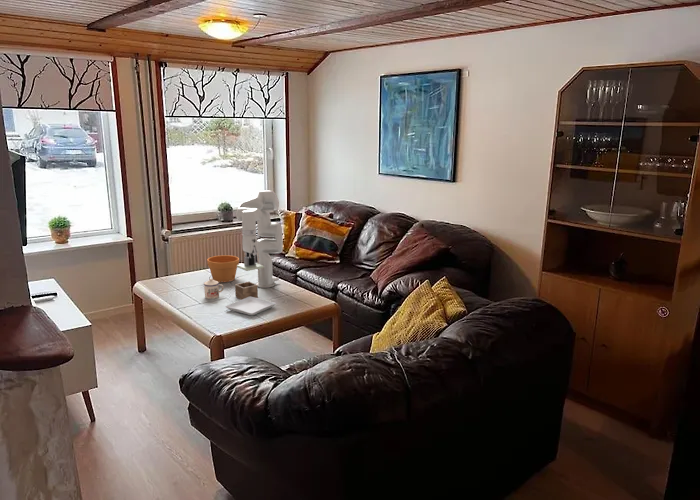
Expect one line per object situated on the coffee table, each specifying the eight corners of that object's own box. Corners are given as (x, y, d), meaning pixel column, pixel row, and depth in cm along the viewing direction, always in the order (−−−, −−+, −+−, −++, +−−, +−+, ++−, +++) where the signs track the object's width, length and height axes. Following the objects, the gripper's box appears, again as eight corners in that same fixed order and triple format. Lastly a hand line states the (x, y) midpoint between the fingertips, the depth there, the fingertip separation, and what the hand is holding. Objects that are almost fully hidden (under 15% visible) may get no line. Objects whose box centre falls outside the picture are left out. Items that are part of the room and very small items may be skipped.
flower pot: (229, 273, 386) (228, 253, 383) (245, 280, 371) (244, 259, 368) (202, 279, 373) (201, 258, 369) (218, 286, 358) (216, 264, 354)
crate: (249, 293, 343) (249, 281, 341) (257, 297, 336) (257, 285, 334) (235, 296, 337) (235, 284, 335) (243, 300, 329) (243, 288, 328)
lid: (253, 264, 315) (253, 253, 314) (263, 267, 307) (263, 257, 306) (236, 267, 309) (236, 256, 307) (246, 271, 300) (246, 260, 299)
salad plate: (252, 318, 301) (252, 312, 301) (224, 311, 313) (224, 305, 312) (276, 308, 319) (276, 302, 318) (250, 301, 330) (249, 295, 329)
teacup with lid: (206, 300, 330) (205, 281, 327) (203, 295, 338) (202, 277, 335) (225, 297, 335) (225, 279, 333) (222, 293, 343) (221, 275, 341)
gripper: (262, 233, 300) (263, 266, 304) (247, 229, 312) (248, 260, 316) (250, 235, 295) (251, 268, 299) (236, 231, 307) (237, 262, 311)
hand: (250, 263), depth 307 cm, fingers closed on lid, 2 cm apart
